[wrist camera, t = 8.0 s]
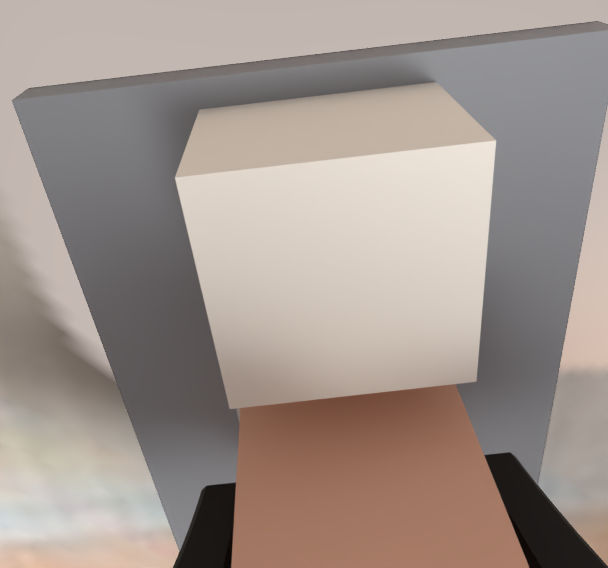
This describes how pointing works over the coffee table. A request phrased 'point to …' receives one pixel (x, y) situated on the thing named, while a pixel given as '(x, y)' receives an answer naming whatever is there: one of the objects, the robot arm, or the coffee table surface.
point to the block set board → (158, 264)
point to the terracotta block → (368, 486)
